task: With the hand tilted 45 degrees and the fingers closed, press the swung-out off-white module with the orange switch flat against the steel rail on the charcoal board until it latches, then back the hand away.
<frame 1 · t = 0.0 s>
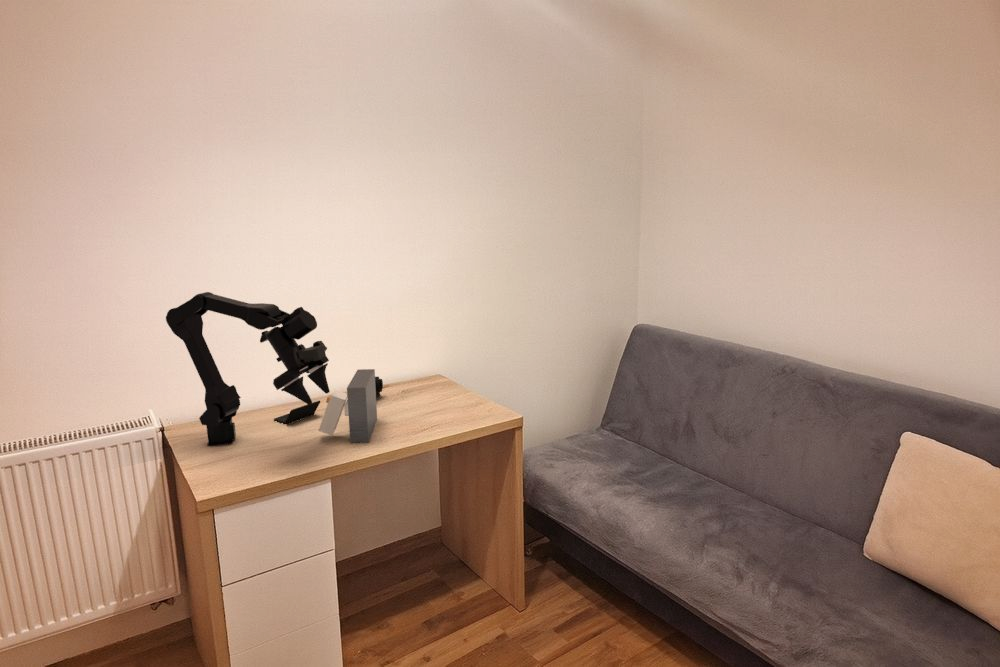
hand: (319, 398, 170), 15 cm above the table, tool tilted 35°, fingers open, 9 cm apart
rail board: (355, 437, 182), on the table
handheld gaming console: (298, 420, 198), on the table
module: (331, 411, 180), point 8 cm above the table, hinge at 22.0°
digital camera: (371, 401, 214), on the table
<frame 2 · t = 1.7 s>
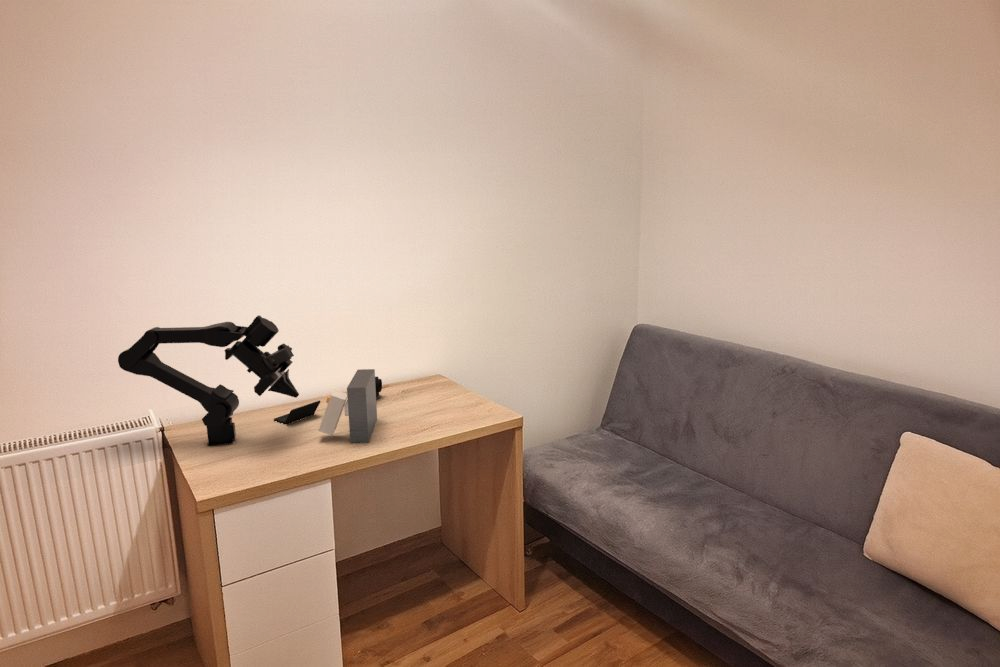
hand: (297, 396, 179), 13 cm above the table, tool tilted 45°, fingers closed
nothing on the table moved.
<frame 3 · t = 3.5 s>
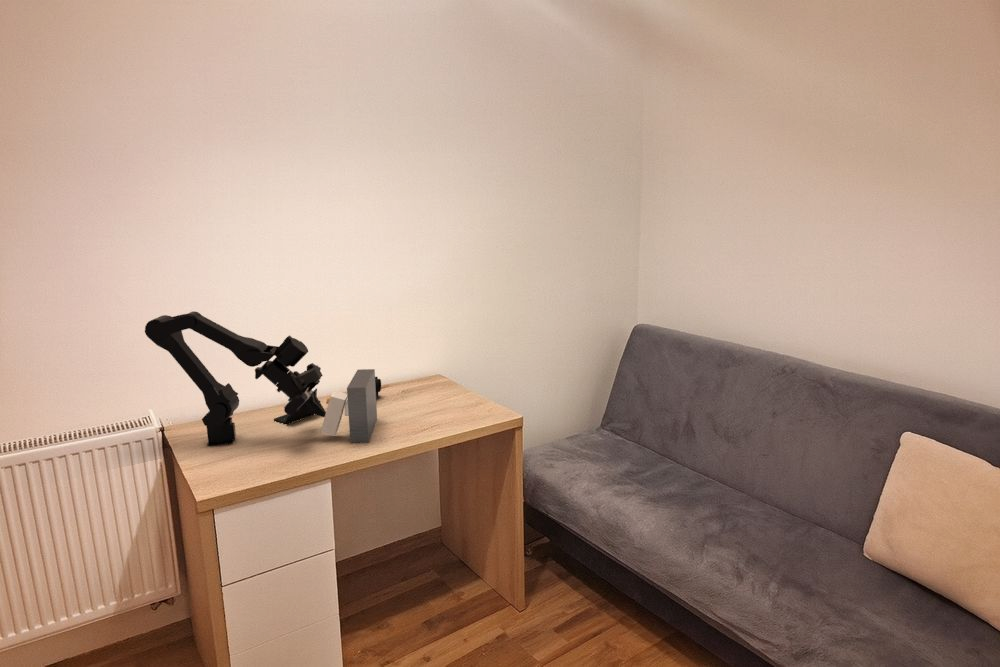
hand: (325, 415, 181), 7 cm above the table, tool tilted 45°, fingers closed, pressing on module
module: (332, 412, 180), point 8 cm above the table, hinge at 18.2°, touching gripper
everything else where it was.
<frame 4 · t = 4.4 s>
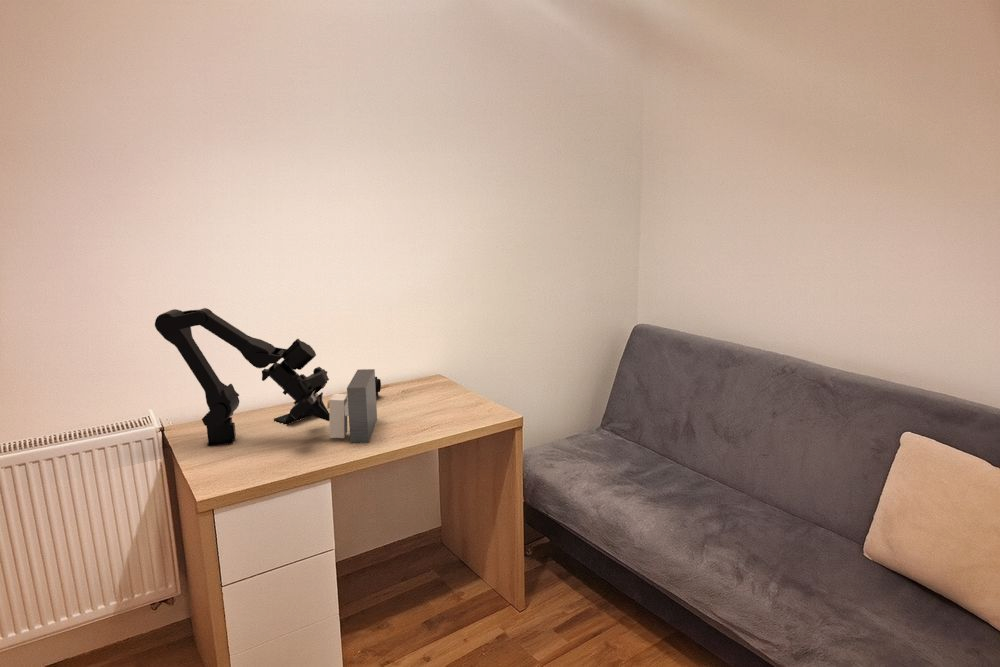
hand: (330, 419, 181), 6 cm above the table, tool tilted 40°, fingers closed, pressing on module
module: (337, 415, 181), point 7 cm above the table, hinge at 3.1°, touching gripper
everything else where it was.
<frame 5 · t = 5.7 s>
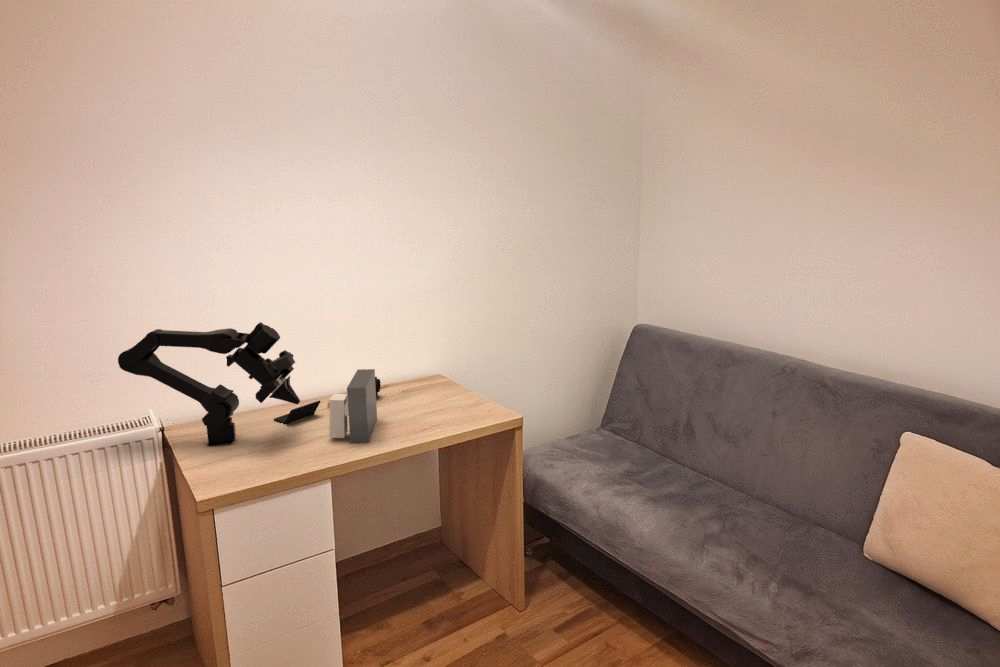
hand: (299, 402, 179), 11 cm above the table, tool tilted 45°, fingers closed
module: (337, 415, 181), point 7 cm above the table, hinge at 3.0°
everything else where it was.
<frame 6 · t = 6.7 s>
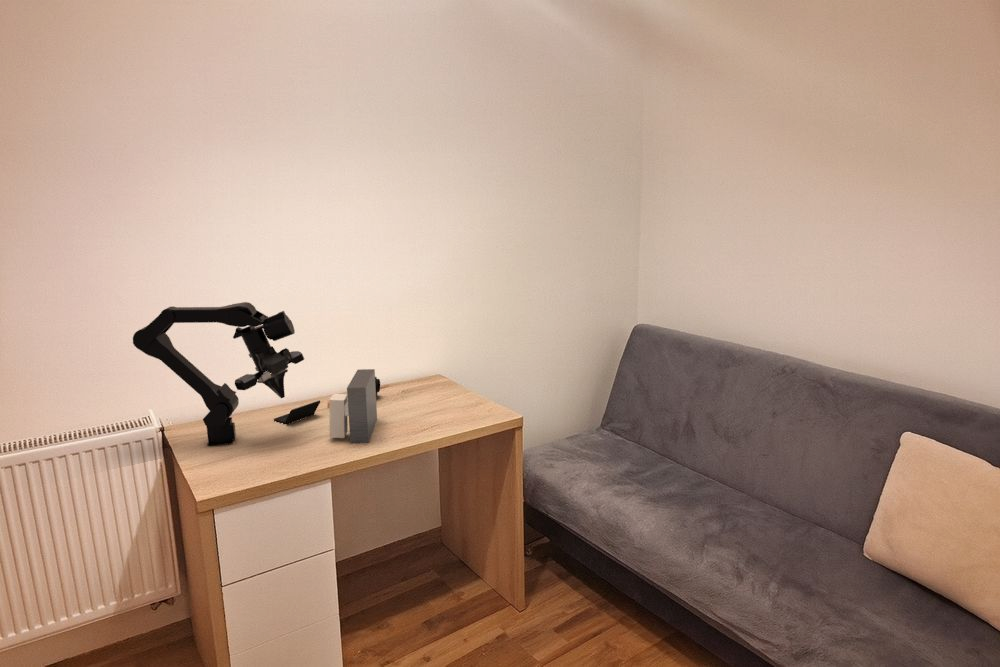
hand: (282, 397, 180), 12 cm above the table, tool tilted 20°, fingers closed
nothing on the table moved.
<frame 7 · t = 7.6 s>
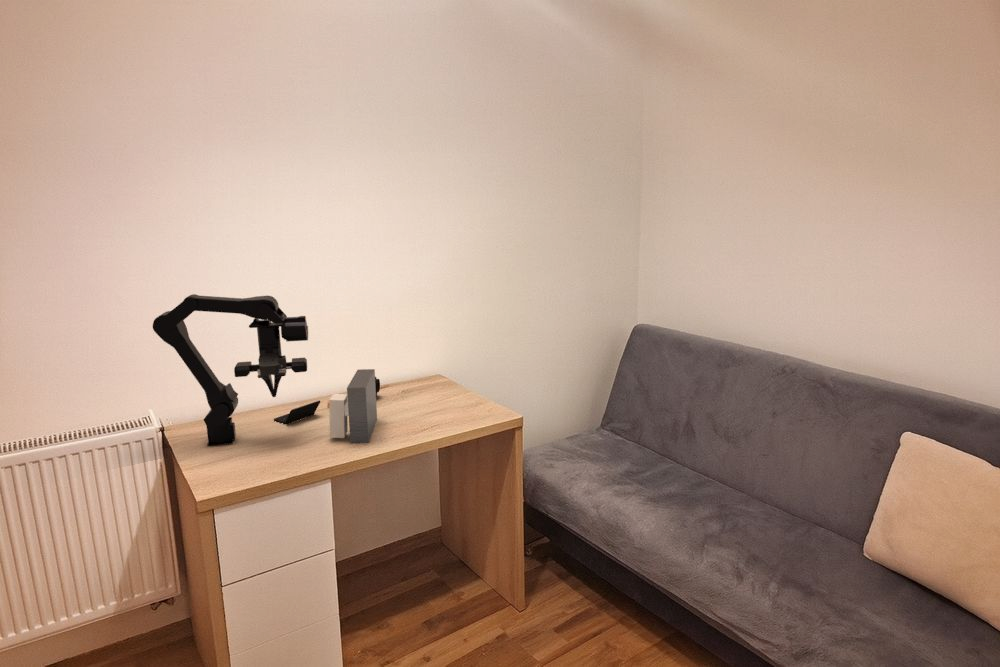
hand: (274, 396, 181), 12 cm above the table, tool pointing down, fingers closed
nothing on the table moved.
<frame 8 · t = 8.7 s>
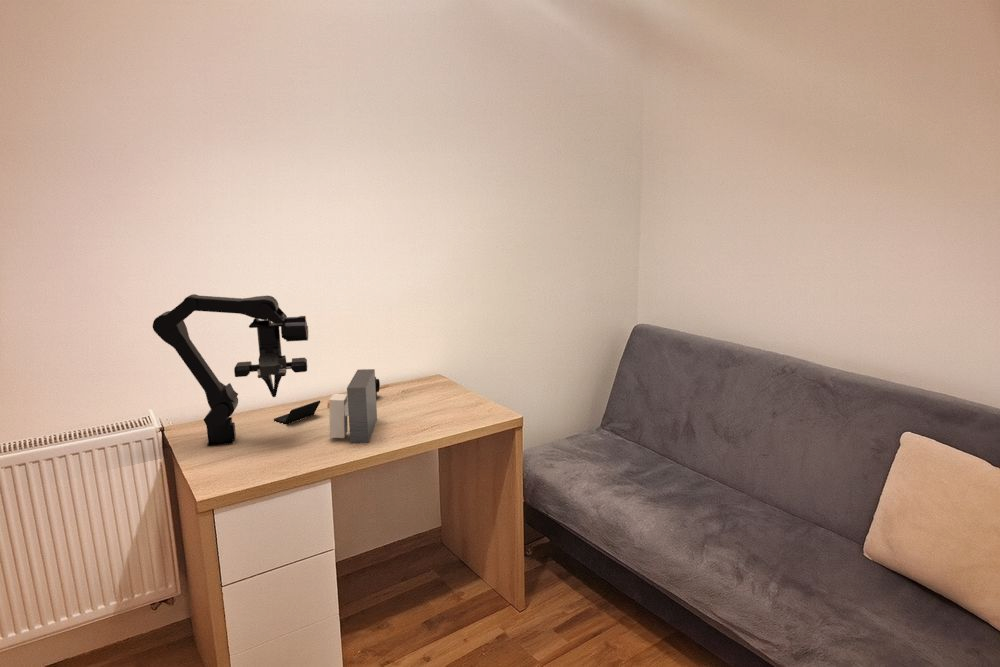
hand: (274, 396, 181), 12 cm above the table, tool pointing down, fingers closed
nothing on the table moved.
at the end: module at +3° (first picture: +22°) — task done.
